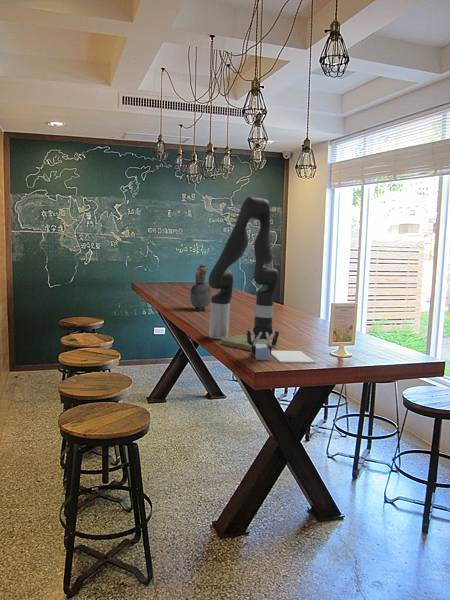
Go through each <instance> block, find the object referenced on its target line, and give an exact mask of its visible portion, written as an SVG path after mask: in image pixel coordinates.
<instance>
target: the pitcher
mask: <svg viewBox="0 0 450 600" xmlns="http://www.w3.org/2000/svg"><path fill="white" fill-rule="evenodd" d="M208 269H209V268H208V267H206V266H205V265H204V264H201V263H199V267H196V273H195V277H194V278H195V284H193V285H192V287H191V288H190V294H189V295H190V303H191V305H192V306H193V309H194V311H198V312H199V311H200V312H201V311H202V312H204V311H206V308H207V307H208V306H209V305H211V298H212V296H211V295H212V293H211V289H210V288H211V287H210V286H209V285H207V284H206V277H207V276H206V275H207V273H206V272H207V270H208Z"/></svg>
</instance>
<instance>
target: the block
mask: <svg viewBox="0 0 450 600" xmlns="http://www.w3.org/2000/svg"><path fill="white" fill-rule="evenodd" d="M255 346H256V351H255V355H253V356H254V357H255V359H256V360H258V361H259V360H261V361H262V360H263V361H270V360H271V354H270V350H269V348H268V347H267V345H266V344H256V345H255Z"/></svg>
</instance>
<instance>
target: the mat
mask: <svg viewBox="0 0 450 600" xmlns="http://www.w3.org/2000/svg"><path fill="white" fill-rule="evenodd" d="M270 356H272V357H273V358H274V359H275V360H277V361H278V362H279V363H281V364H283V363H284V364H294V363H295V364H316V361H315V360H313V359H312V358H311V357H310V356H308V355H307V354H306V353H304V352H303V351H301V350H271V354H270Z"/></svg>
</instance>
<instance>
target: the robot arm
mask: <svg viewBox="0 0 450 600" xmlns="http://www.w3.org/2000/svg"><path fill="white" fill-rule="evenodd" d="M251 220H258V221H259V225H260V227H259V231H258V233H257V236H256V238H255V241H254V243H253V251H254V258H255V262H254V263H255V264H254V272H253V280H254V282H255V284H256V285H258V286H266V288H265V289H262V290H259V291H257V293H256V301H255V309H254V323H253V324H254V325H253V329H246V335H247V342H248V344H249V345H252V349H251V351H250V352H251V354H252V355H253V356H254V355H255V351H256V346H255V345H256V343H257V342H258V340H259V339H265V340H266V341H267V343H268V345H267V347H268V348H269V350H270V355H271V351H273V350H272V349H273V348H272V346H273V345H276V346H277V343H278V337H279V335H280V332H279V331H278V330H274V329H273V316H274V295H275V292H276V289H277V286H278V284H279V281H280V273H279V271H278V270H277V269H276V268H272V267H267V268H265V267H264V266H266V265H269V264H270V263H272V262H273V254H272V247H271V240H270V239H271V238H270V237H271V235H270V234H271V207H270V202H269V200H267V199H265V198H262V197H261V198H260V197H254V196H248V197H246V199H244V201H243V203H242V205H241V208H240V211H239V213H238V217H237V219H236V222H235V224H234V226H233V229H232V231H231V232H230V235H229V236H228V239H227V240H226V243H225V244H224V248H223V250H222V252H221V254H220V256H219V258H218V259H217V261H216V263H215V264H214V266H213V268H212V269H211V271H210V273H209V275H208V287H209V288H211V289H215V290H219V289H220V291H219V292H217V293H215V294H214V295H212V296H211V298H210V317H209V329H208V331H209V333H208V334H209V335H208V337H209V338H211V339H214V340H215V339H216V340H222V339H225V338H227V337H229V325H230V309H231V308H230V306H231V299H232V297H233V296H232V295H233V288H234V274H233V272H232V271H231V270H230V269H229V267H231V266H232V265H233V264H235V263H236V262H237V261H238V260H240V258H242V256H243V255H244V253H245V251H246V249H247V247H248V245H249V236H248V231H247V226H248V223H249V222H250V221H251ZM253 334H254V336H255V337H254V339H253V341H252V342H251V336H253ZM270 336H273V337H272V340H271V337H270ZM271 341H272V342H271Z"/></svg>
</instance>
